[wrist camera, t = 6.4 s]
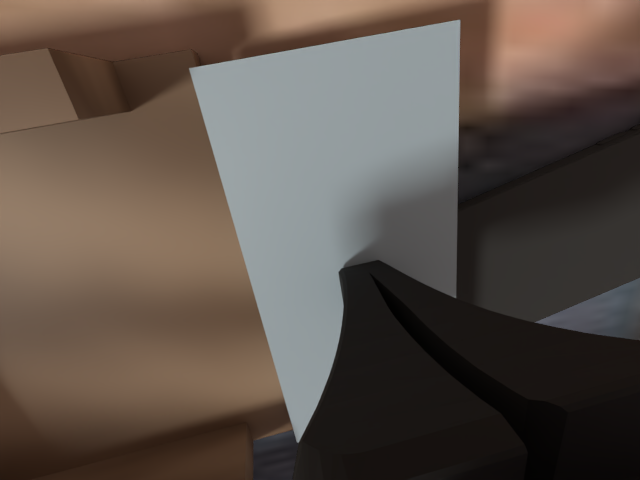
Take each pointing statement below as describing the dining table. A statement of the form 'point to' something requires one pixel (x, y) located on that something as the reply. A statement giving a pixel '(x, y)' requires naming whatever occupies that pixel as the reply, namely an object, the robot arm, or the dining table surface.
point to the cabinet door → (336, 180)
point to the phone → (554, 233)
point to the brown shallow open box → (122, 280)
